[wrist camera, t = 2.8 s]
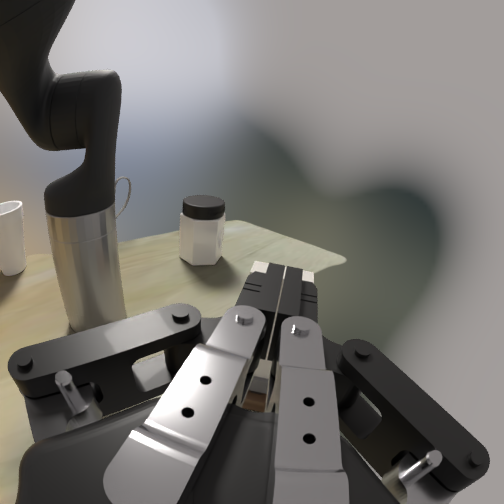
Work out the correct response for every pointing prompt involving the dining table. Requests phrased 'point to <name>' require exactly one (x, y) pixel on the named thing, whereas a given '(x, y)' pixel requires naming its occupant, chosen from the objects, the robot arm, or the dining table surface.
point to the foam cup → (12, 238)
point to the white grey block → (264, 366)
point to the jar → (201, 229)
